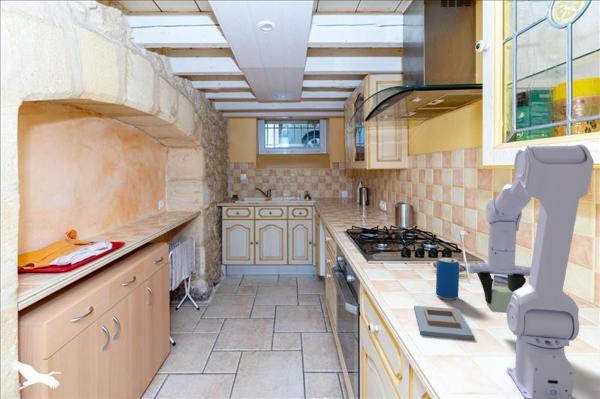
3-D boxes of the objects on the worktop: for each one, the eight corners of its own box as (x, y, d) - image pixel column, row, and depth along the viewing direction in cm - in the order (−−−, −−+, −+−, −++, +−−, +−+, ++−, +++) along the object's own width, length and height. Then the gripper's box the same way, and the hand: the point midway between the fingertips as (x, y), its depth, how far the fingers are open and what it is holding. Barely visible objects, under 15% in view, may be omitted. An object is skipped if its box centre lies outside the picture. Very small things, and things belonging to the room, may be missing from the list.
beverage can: (460, 301, 105) (461, 262, 104) (437, 300, 106) (439, 261, 105) (455, 294, 111) (456, 257, 110) (434, 292, 113) (435, 256, 112)
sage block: (512, 313, 82) (513, 292, 82) (492, 311, 83) (492, 291, 83) (505, 306, 87) (506, 286, 86) (486, 304, 88) (487, 285, 87)
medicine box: (497, 295, 110) (498, 268, 109) (513, 298, 107) (514, 271, 106) (492, 303, 104) (493, 274, 103) (509, 306, 101) (510, 277, 100)
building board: (473, 339, 81) (474, 331, 81) (420, 334, 84) (420, 326, 84) (458, 312, 97) (458, 305, 97) (414, 308, 100) (414, 302, 99)
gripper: (528, 246, 86) (525, 299, 87) (465, 244, 89) (463, 295, 90) (541, 253, 79) (538, 310, 80) (472, 250, 82) (470, 305, 84)
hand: (499, 303), depth 85 cm, fingers closed on sage block, 4 cm apart
